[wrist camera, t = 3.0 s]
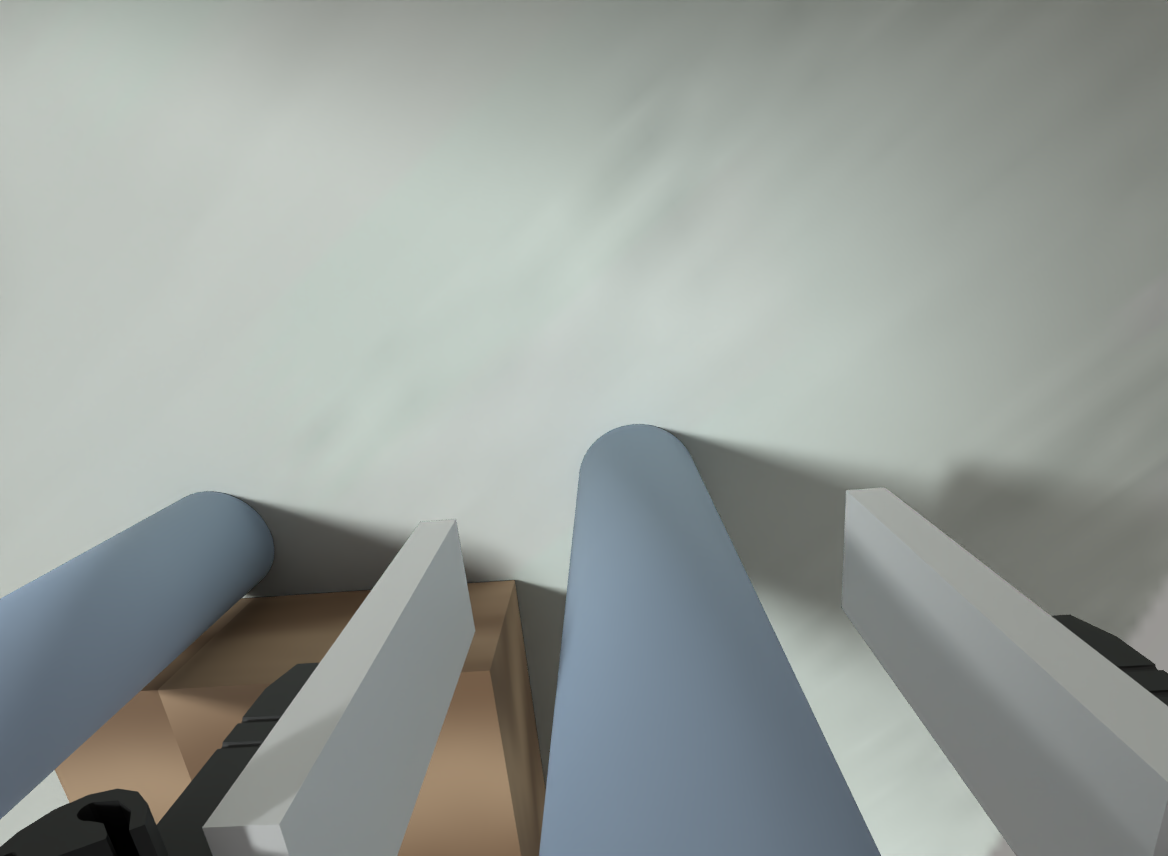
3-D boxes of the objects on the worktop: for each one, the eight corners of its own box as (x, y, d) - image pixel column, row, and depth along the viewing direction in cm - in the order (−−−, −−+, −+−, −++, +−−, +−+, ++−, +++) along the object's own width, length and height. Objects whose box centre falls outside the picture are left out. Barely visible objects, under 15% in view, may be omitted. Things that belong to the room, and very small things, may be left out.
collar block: (147, 604, 18) (22, 698, 14) (514, 580, 17) (489, 671, 13) (258, 914, 22) (184, 1054, 18) (562, 904, 21) (553, 1046, 17)
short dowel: (150, 495, 17) (-234, 689, 9) (258, 487, 17) (-40, 678, 9) (183, 593, 18) (-139, 844, 10) (285, 586, 17) (38, 837, 10)
